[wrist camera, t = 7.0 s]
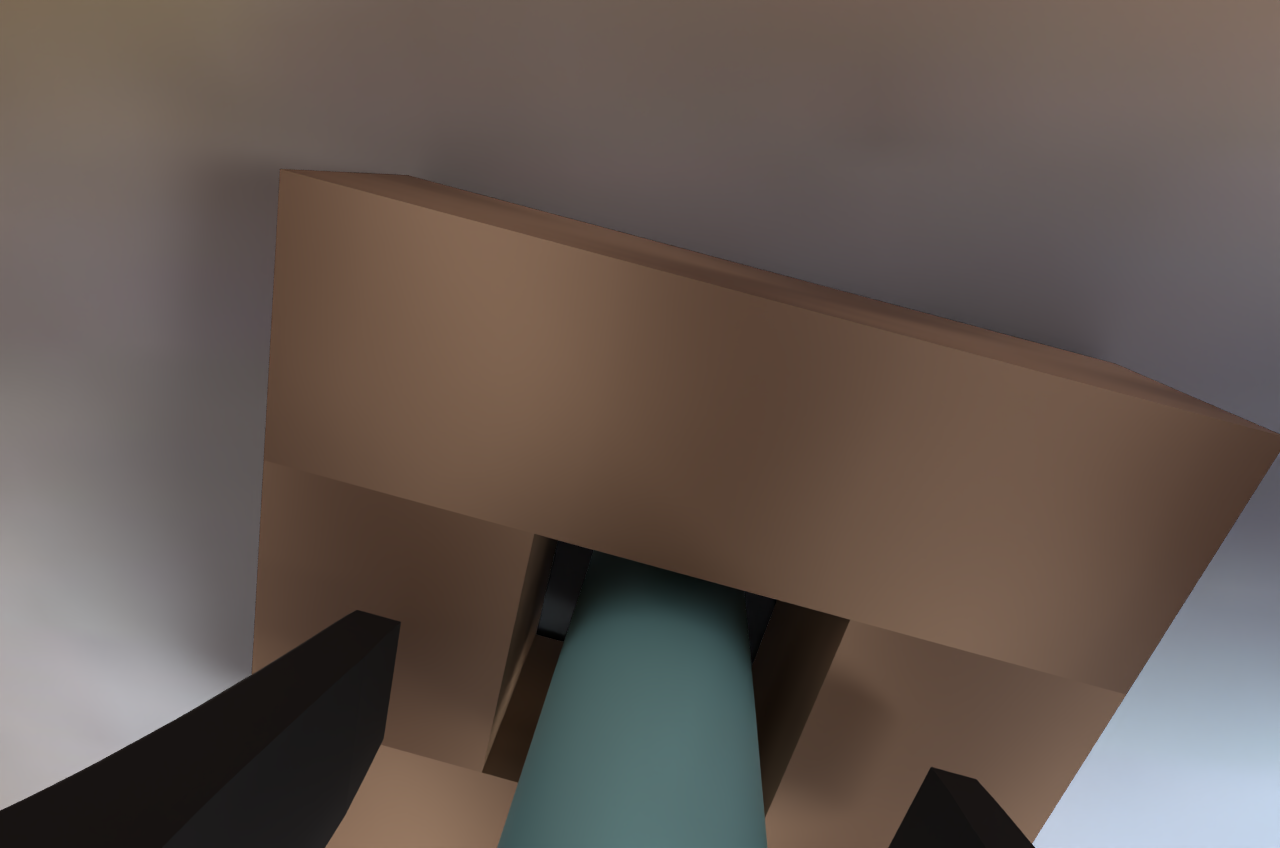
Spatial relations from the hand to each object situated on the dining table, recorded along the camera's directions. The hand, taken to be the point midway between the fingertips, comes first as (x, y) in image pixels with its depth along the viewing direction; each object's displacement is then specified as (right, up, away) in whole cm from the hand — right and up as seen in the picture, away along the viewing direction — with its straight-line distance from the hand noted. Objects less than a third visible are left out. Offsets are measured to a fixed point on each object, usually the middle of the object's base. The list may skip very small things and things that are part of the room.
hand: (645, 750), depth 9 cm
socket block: (0, +1, +4) cm, 4 cm away
